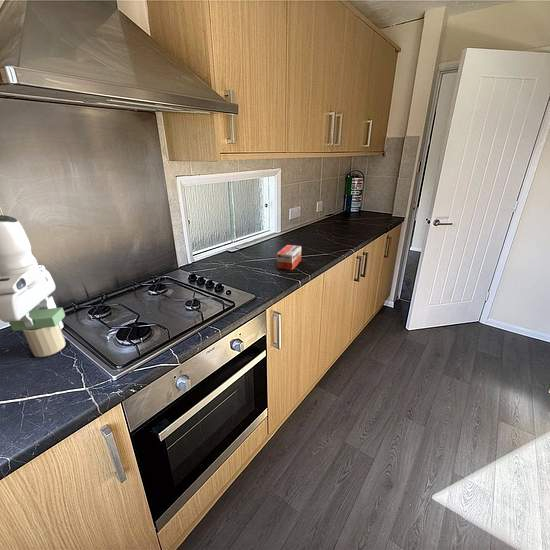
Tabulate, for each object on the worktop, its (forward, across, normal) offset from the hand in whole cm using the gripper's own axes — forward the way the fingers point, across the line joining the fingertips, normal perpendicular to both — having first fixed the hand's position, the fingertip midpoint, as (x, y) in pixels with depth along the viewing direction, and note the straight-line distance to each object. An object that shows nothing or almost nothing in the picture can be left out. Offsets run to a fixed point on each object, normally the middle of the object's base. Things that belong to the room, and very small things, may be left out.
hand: (38, 318), depth 85 cm
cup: (+11, 0, 0) cm, 11 cm away
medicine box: (+11, -51, +86) cm, 101 cm away
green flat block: (+2, 0, 0) cm, 2 cm away
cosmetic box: (+11, -9, -4) cm, 15 cm away
